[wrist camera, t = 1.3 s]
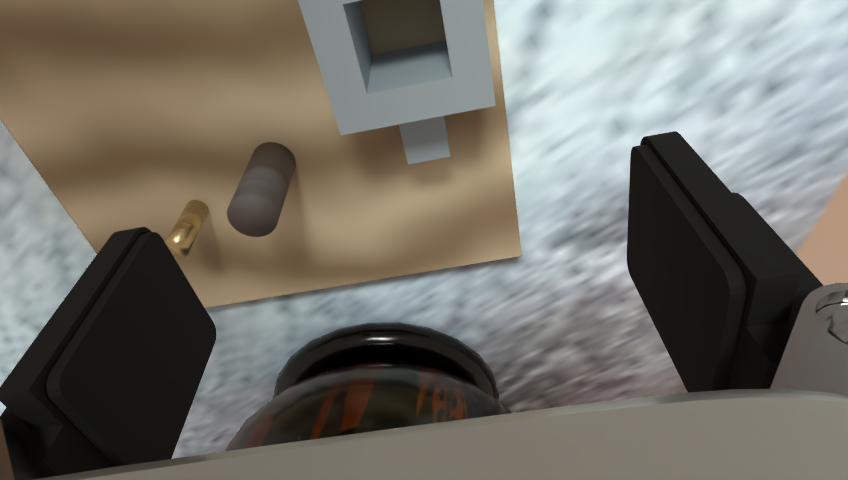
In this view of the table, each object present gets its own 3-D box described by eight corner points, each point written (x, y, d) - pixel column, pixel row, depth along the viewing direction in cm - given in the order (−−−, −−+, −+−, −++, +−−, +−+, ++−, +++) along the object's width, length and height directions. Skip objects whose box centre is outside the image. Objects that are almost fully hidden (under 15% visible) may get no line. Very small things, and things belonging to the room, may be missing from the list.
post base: (-60, 2, 24) (-178, 48, 19) (477, -123, 22) (497, -106, 17) (150, 304, 36) (109, 382, 31) (518, 243, 33) (537, 316, 29)
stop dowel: (182, 201, 30) (158, 241, 27) (203, 197, 29) (181, 237, 27) (192, 219, 30) (170, 260, 28) (212, 215, 30) (193, 256, 27)
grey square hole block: (306, -56, 22) (287, -33, 19) (462, -92, 22) (474, -74, 18) (365, 147, 28) (359, 195, 24) (490, 124, 27) (503, 169, 24)
